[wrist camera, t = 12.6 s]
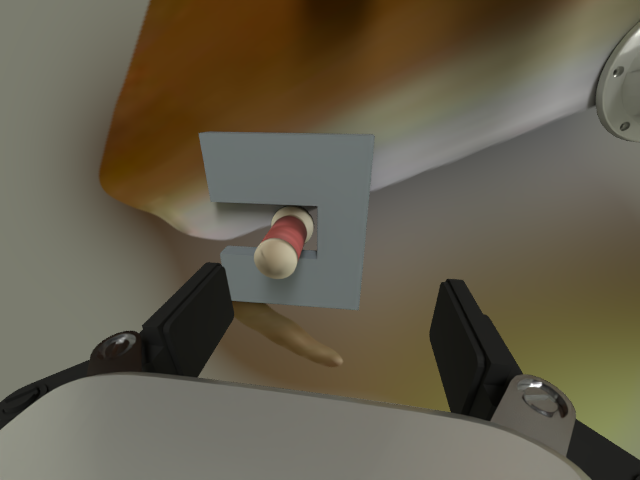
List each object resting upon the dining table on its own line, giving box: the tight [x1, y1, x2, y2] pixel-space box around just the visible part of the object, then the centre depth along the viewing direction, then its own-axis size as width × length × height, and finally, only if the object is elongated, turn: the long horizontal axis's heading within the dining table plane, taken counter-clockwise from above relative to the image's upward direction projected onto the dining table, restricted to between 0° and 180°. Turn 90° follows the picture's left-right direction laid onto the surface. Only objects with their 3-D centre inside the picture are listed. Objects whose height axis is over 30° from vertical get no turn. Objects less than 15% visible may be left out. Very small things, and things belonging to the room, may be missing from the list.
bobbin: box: [254, 205, 314, 279], centre depth 33 cm, size 6×6×10 cm
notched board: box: [199, 132, 375, 310], centre depth 36 cm, size 20×24×2 cm
